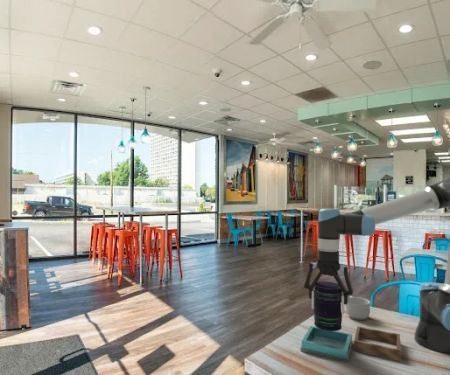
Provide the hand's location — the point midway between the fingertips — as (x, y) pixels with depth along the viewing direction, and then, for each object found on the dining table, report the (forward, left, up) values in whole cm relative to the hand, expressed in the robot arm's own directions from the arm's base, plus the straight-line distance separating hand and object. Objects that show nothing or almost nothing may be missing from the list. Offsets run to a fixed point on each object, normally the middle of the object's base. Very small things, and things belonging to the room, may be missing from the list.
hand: (327, 310), depth 117 cm
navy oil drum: (0, 0, -6) cm, 6 cm away
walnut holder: (-16, -10, -13) cm, 23 cm away
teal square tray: (0, 0, -13) cm, 13 cm away
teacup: (-7, -39, -14) cm, 42 cm away
